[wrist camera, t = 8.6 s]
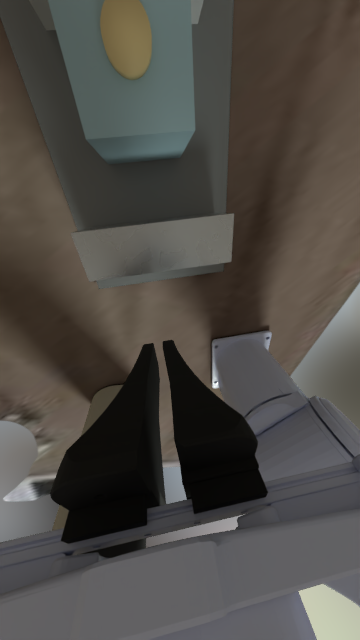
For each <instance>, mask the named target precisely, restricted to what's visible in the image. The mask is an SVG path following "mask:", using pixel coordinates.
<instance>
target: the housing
mask: <svg viewBox="0 0 360 640" xmlns="http://www.w3.org/2000/svg"><path fill="white" fill-rule="evenodd" d="M48 3H49V7H50V10H51V14H52V18H53V21H54V25H55V29H56V32H57V36H58V40H59V43H60V47H61V50H62V54H63V58H64V61H65V65H66V69H67V72H68V76H69V80H70V83H71V87H72V91H73V94H74V98H75V101H76V105H77V109H78V112H79V116H80V120H81V123H82V127H83V131H84V134H85V138H86V140H87V141H88V142H89V143H90V145H91V146H92V147H93V148H94V149H95V150H96V151H97V152H98V153H99V155H100V156H101V157H102V158H103V159H104V160H105V161H106V162H107V163H108V164H118V163H129V162H139V161H150V160H160V159H171V158H180V157H181V155H182V153H183V152H184V150H185V148H186V146H187V144H188V143H189V141H190V139H191V137H192V135H193V134H194V132H195V106H194V78H193V50H192V22H191V0H48Z"/></svg>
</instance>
